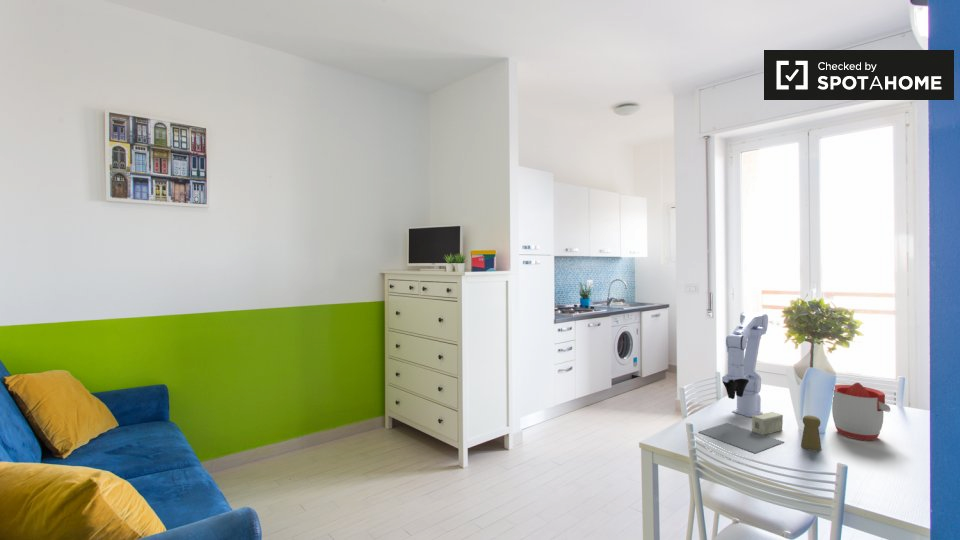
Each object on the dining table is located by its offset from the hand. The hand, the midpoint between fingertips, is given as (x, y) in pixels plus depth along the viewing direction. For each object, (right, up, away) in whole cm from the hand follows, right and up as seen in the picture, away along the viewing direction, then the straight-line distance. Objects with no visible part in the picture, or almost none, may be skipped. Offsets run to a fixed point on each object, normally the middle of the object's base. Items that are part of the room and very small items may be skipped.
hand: (735, 397), depth 191 cm
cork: (+14, -12, -24) cm, 30 cm away
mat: (-6, -11, -14) cm, 19 cm away
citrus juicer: (+39, -11, -14) cm, 43 cm away
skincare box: (+2, -7, -12) cm, 14 cm away
